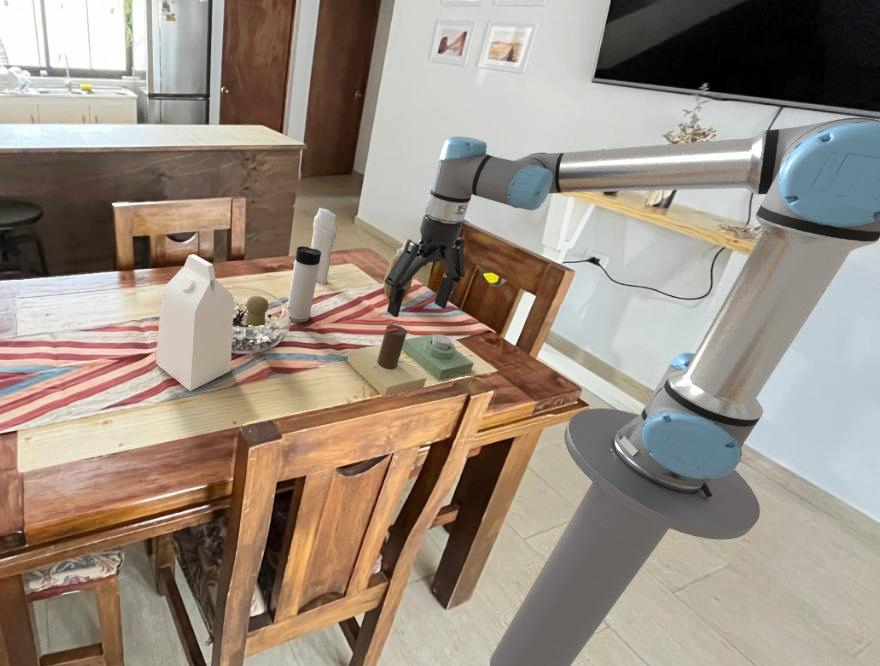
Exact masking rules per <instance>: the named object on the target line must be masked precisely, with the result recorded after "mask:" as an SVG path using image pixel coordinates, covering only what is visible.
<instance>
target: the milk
mask: <svg viewBox="0 0 880 666" xmlns="http://www.w3.org/2000/svg"><path fill="white" fill-rule="evenodd" d="M234 305H235V299H234V296H233V294H232V293H231V291H229V290H228V288H226V287H225V286H224V285H222V284H221V283H220V282H219V281H218V280H217V279H216V274H215V268H214V265H213V263H211V262H209V261H207V260H205V259H203V258H202V257H200V256H198V255H197V254H195V253H193V254H189V255H188V256H187V258H186V260H185V263H184V266H182V267H181V268H180V270H178V272H177V273H176V274H175V275H173V277H172V278H171V279H170V280H169V281H168V282H167V283H166V285H165V286H164V288H163V289H162V291H161V298H160V311H159V322H158V333H157V343H156V353H155V364H156V365H157V366H158V367H159V368H160V369H162V370H163V371H165V372H166V373H167V374H168V375H169V376H170V377H172V378H173V379H174V380H176V381H177V382H178V383H179V384H181V385H182V386H183V387H184V388H185V389H187V391H189V392H191V391H193V390H196V389H197V388H199V387H202V386H204V385H206V384H208V383H210V382H211V381H214V380H216V379H217V378H220V377H221V376H223V375H225V374H227V373H230V372H231V371H232V350H233V327H234V308H235V307H234Z"/></svg>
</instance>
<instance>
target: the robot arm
mask: <svg viewBox="0 0 880 666" xmlns="http://www.w3.org/2000/svg"><path fill="white" fill-rule="evenodd" d="M487 148H488V145H487V143H486V142H485V141H483V140H480V139H477V138H473V137H468V136H450V137H449V138H447V139H446V140H445V141H444V143H443V146H442V149H441V153H440V155H439V158H438V160H437V166H436V170H435V173H434V177H433V181H432V185H431V189H430V192H429V195H428V199H427V202H426V206H425V209H424V212H425V214H424V215H423V217H422V221H421V223H420V228H419V232H420V236H421V237H420V239H419V241H418V242H417V241H413V240H412V239H411V240H409V241H408V242H407V244H406V247H405V250H404V252H403V253H402V255H401V256H400V258H399V259H398V261H397V262H396V264H395V265H394V267H393V268H392V270H391V271H390V273H389V275H388V276H387V278H386V279H385V283H387V284H388V285H390V286H391V291H390V295H389V296H388V300H389V302H388V305H387V310H386V312H387V313H389V314H390V315H391V316H393V317H394V318H399V315H400V312H401V311H400V310H401V307H402V304H403V300H404V297H405V296H404V293H405V289H404V288H403V287H404V286H405V285H406V284H407V283H408V282H409V281H410V279H411V278H412V279H413V278H414V277H415V276H416V274H417V273H418V272H419V271H420V270H421V269H422V267H426V266H427V265H428V264H429V263H433V262H439V263H440V265H441V266H440V267H441V268H442V270H443V272H444V275H445V276H442V277H441V279H440V283H439V286H438V289H437V293H436V296H435V299H434V302H433V303H434V304H435V305H437V306H438V307H440V308H441V309H443V310H444V309H446V308H447V306H448V305H447V304H448V302H449V299H450V296H451V293H452V292H453V289H454V286H455V283H457V284H460V283H461V280H462V278H464V277H465V275H466V267H465V255H464V253H465V252H464V247H465V245H466V244H465V243H466V240H465V239H464V238H462V237H460V234H461V232H462V228H463V222H462V221H464V220H465V217H466V214H467V210H468V207H469V204H470V202H471V199H472V195H473V196H476V197H480V198H483V199H486V200H488V201H489V200H490V201H493V202H496V203H500V204H503V205H507V206H509V207H513V208H514V209H522V210H527V211H536V210H538V209H539V208H540V207H542V204H543V203H544V202H545V201H546V199H547V197H548V195H549V194H563V193H597V192H599V193H601V192H602V193H603V192H606V193H607V192H644V191H646V192H647V191H682V190H684V191H685V190H686V191H688V190H722V189H725V190H726V189H727V190H728V189H729V190H730V189H747V190H748V191H749V192H751V193H752V194H754V195H765V196H764V198H763V199H762V202H761V204H760V206H759V208H758V210H757V211H756V213H755V215H754V217H755V219H756V220H757V222H758V223H759V225H760V227H761V229H762V231H761V234H760V235H759V237H758V239H757V241H756V243H755V244H754V246H753V248H752V250H751V251H750V253H749V255H748V257H747V259H746V261H745V262H744V264H743V266H742V268H741V270H740V272H739V273H738V275H737V276H736V279H735V280H734V282H733V284H732V286H731V288H730V289H729V290H728V293H727V295H726V296H725V298H724V300H723V302H722V304H721V306H720V308H719V309H718V311H717V313H716V314H715V317H714V318H713V320H712V322H711V324H710V326H709V327H708V330H707V331H706V333H705V334H704V336H703V338H702V340H701V342H700V344H699V345H698V347H697V349H696V351H695V353H693V352H680V353H678V354H677V355H675V356H674V358H673V359H672V360H671V362H669V363H668V367H667V369H666V371H665V372H664V373H663V376H662V378H661V379H660V380H659V382H658V384H657V386H656V388H655V389H654V391H653V393H652V394H651V396H650V398H649V400H648V401H647V403H646V405H645V406H644V408H643V410H642V411H641V412H640V414H638V415H639V416H638V417H636V418H635V419H633V420H632V421H631V422H629V423H628V424H626V425H625V426H624V427H622V428H621V429H620V430H618V431H617V433H616V434H615V436H614V438H613V439H612V447H613V450H614V452H615V453H616V455H617V456H618V457H619V459H620V460H621V461H622V462H623V463H624V464H625V465H626V466H628V467H629V468H630V469H631V470H633V471H634V472H635V473H637V474H638V475H640V476H641V477H643V478H645V479H646V480H648V481H650V482H652V483H654V484H656V485H659V486H661V487H664V488H666V489H669V490H673V491H676V492H681V493H698V492H701V491H702V490H703V492H704V493H705V495H706V497H712V494H711V492H710V490H709V488H708V486H707V484H708V483H709V481H710V478H711V479H715V478H720V477H723V476H725V475H728V474H729V473H731V472H732V471H733V470H734V469H735V470H736V469H737V467H738V465H739V464H740V463H741V461H742V456H743V450H742V448H743V445H744V444H745V442H746V440H747V439H748V437H749V436H750V434H751V433H752V431H753V430H754V429H755V427H756V425H757V424H758V422H759V421H760V419H761V418H762V416H763V415H764V408H763V406H762V405H761V403H760V402H759V400H758V399H757V398H758V397H759V395H760V393H761V392H762V390H763V388H764V387H765V385H766V384H767V382H768V381H769V379H770V377H771V376H772V375H773V373H774V372H775V370H776V368H777V367H778V365H779V364H780V363H781V360H782V359H783V357H784V356H785V354H786V353H787V351H788V349H789V348H790V347H791V345H792V343H793V342H794V341H795V339H796V337H797V336H798V334H799V333H800V331H801V330H802V328H803V326H804V325H805V324H806V321H808V318H809V317H810V316H811V314H812V312H813V311H814V309H815V307H817V304H818V303H819V302H820V300H821V298H822V297H823V295H824V294H825V292H826V290H827V289H828V288H829V286H830V284H831V283H832V282H833V280H834V278H835V277H836V275H837V273H838V272H839V271H840V269H841V267H842V266H843V264H844V263H845V261H846V259H847V258H848V256H849V255H850V253H851V252H853V251H854V250H857V249H861V248H863V247H867V246H869V245H873V244H877V242H878V241H879V240H880V119H876V118H875V119H874V118H870V117H869V118H868V117H845V118H838V119H834V120H828V121H824V122H818V123H817V122H816V123H813V124H807V125H806V124H805V125H800V126H793V127H786V128H785V127H784V128H777V129H776V128H775V129H765V130H764V129H763V130H762V131H761V132H759V133H758V134H756V135H755V136H753V137H749V138H748V137H747V138H736V139H735V138H734V139H722V140H709V141H707V140H706V141H697V142H681V143H669V144H657V145H642V146H629V147H616V148H607V149H606V148H604V149H603V148H602V149H589V150H578V151H577V150H576V151H565V152H553V153H552V152H551V153H549V152H535V153H531V154H530V153H529V154H528V155H526V156H523V157H520V158H518V159H515V160H512V159H507V158H502V157H497V156H494V155H490V154H487V151H488V150H487ZM400 281H401V282H400ZM399 282H400V283H399Z"/></svg>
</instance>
